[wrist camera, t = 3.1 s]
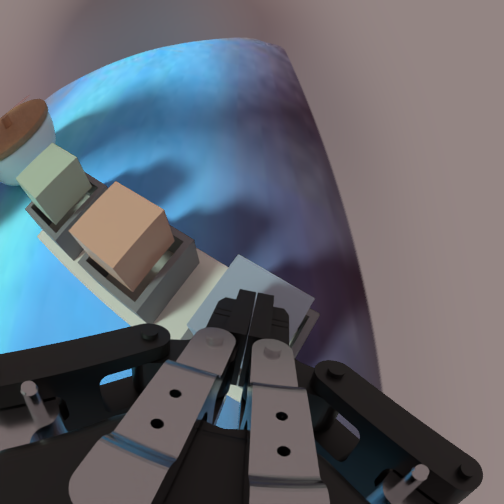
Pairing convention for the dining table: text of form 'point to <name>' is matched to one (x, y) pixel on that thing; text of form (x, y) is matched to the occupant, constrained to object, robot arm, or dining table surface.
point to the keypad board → (147, 278)
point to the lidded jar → (23, 138)
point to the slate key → (261, 281)
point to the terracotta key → (124, 234)
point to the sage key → (54, 182)
